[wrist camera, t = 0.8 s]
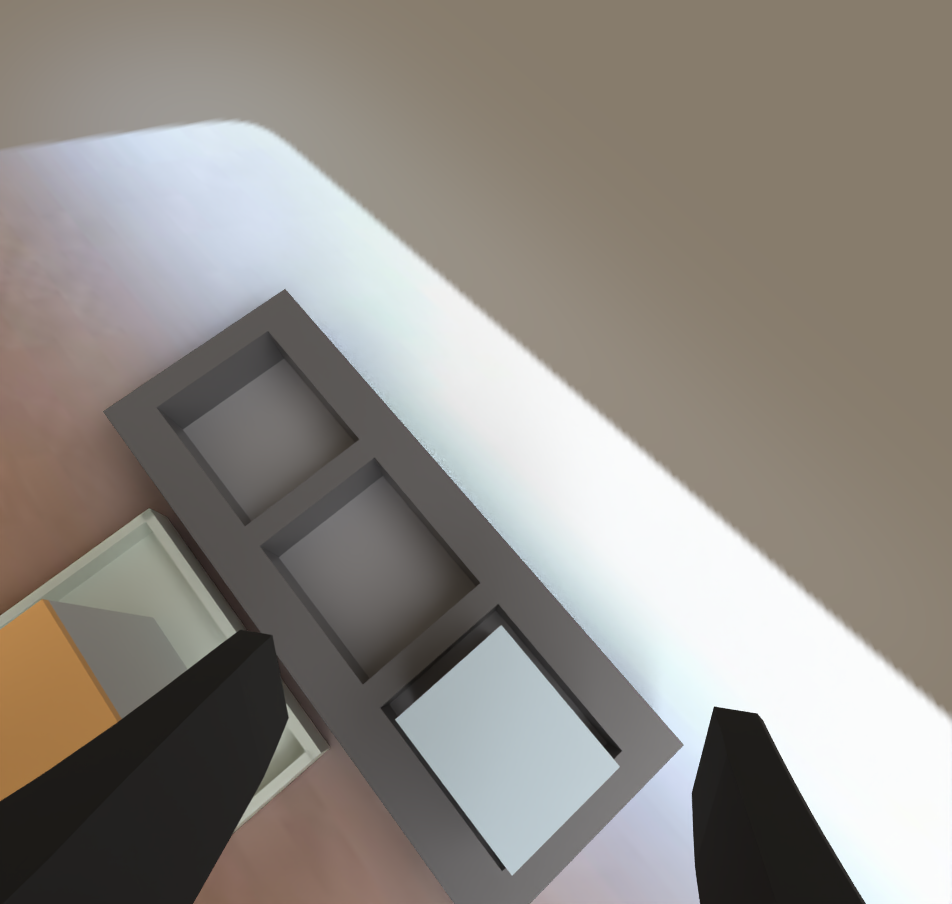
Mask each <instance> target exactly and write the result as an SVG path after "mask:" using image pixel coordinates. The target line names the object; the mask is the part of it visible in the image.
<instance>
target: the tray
mask: <svg viewBox="0 0 952 904" xmlns="http://www.w3.org/2000/svg"><path fill="white" fill-rule="evenodd" d="M41 599H44V600H50V601H56V602H62V603H68V604H74V605H80V606H86V607H92V608H98V609H104V610H110V611H116V612H122V613H128V614H134V615H140V616H146V617H152V618H154V619H155V621H156V622H157V624H158V625H159V627H160V628H161V630H162V631H163V633H164V634H165V636H166V637H167V639H168V640H169V642H170V643H171V645H172V646H173V648H174V649H175V651H176V652H177V654H178V655H179V657H180V658H181V660H182V661H183V663H184V664H185V666H186V667H187V669H189V668H190V667H191V666H193V665H194V664H195V663H197V662H198V661H199V660H201V659H202V658H203V657H205V656H206V655H207V654H208V653H210V652H211V651H212V650H214V649H215V648H216V647H218V646H219V645H220V644H222V643H223V642H224V641H225V640H227V639H228V638H230V637H231V636H232V635H234V634H235V633H236V632H238V631H239V630H245V631H247V629H246V628H245V626H244V625H243V624H242V622H241V621H240V619H239V618H238V616H237V615H236V614H235V612H234V611H233V609H232V608H231V607H230V605H229V604H228V602H227V601H226V599H225V598H224V597H223V595H222V594H221V592H220V591H219V590H218V588H217V587H216V585H215V584H214V583H213V581H212V580H211V578H210V577H209V575H208V574H207V573H206V571H205V570H204V568H203V567H202V566H201V564H200V563H199V561H198V560H197V559H196V557H195V556H194V554H193V553H192V551H191V550H190V549H189V547H188V546H187V544H186V543H185V542H184V540H183V539H182V537H181V536H180V535H179V533H178V532H177V530H176V529H175V527H174V526H173V525H172V523H171V522H170V520H169V519H168V518H167V517H166V516H164V515H162V514H160V513H158V512H156V511H154V510H152V509H150V508H149V509H147V510H146V511H144V512H143V513H142V514H140V515H139V516H137V517H136V518H135V519H133V520H132V521H131V522H129V523H128V524H126V525H125V526H124V527H122V528H121V529H119V530H118V531H117V532H115V533H114V534H113V535H111V536H110V537H108V538H107V539H106V540H104V541H103V542H101V543H100V544H99V545H97V546H96V547H95V548H93V549H92V550H90V551H89V552H88V553H86V554H85V555H84V556H82V557H81V558H79V559H78V560H77V561H75V562H74V563H72V564H71V565H70V566H68V567H67V568H66V569H64V570H63V571H61V572H60V573H59V574H57V575H56V576H54V577H53V578H52V579H50V580H49V581H48V582H46V583H45V584H43V585H42V586H41V587H39V588H38V589H36V590H35V591H34V592H32V593H31V594H30V595H28V596H27V597H25V598H24V599H23V600H21V601H20V602H18V603H17V604H16V605H14V606H13V607H12V608H10V609H9V610H7V611H6V612H5V613H3V614H2V615H0V629H2V628H3V627H4V626H6V625H7V624H8V623H10V622H11V621H13V620H14V619H15V618H17V617H18V616H19V615H21V614H22V613H24V612H25V611H26V610H28V609H29V608H30V607H32V606H33V605H35V604H36V603H37V602H39V601H40V600H41ZM281 681H282V686H283V691H284V696H285V701H286V706H287V711H288V716H289V719H288V721H287V724H286V726H285V729H284V731H283V733H282V736H281V738H280V741H279V743H278V746H277V748H276V751H275V753H274V755H273V758H272V760H271V762H270V764H269V767H268V769H267V771H266V774H265V776H264V778H263V780H262V782H261V784H260V785H259V787H258V789H257V791H256V793H255V795H254V796H253V798H252V800H251V802H250V803H249V805H248V807H247V809H246V811H245V812H244V814H243V816H242V818H241V820H240V821H239V823H238V825H237V827H236V829H235V830H234V832H235V831H237V830H238V829H239V828H240V827H241V826H242V825H243V824H244V823H246V822H247V821H248V820H249V819H250V818H251V817H252V816H254V815H255V814H256V813H257V812H258V811H259V810H260V809H262V808H263V807H264V806H265V805H266V804H267V803H268V802H270V801H271V800H272V799H273V798H274V797H275V796H276V795H277V794H279V793H280V792H281V791H282V790H283V789H284V788H285V787H287V786H288V785H289V784H290V783H291V782H292V781H293V780H295V779H296V778H297V777H298V776H299V775H300V774H301V773H303V772H304V771H305V770H306V769H307V768H308V767H309V766H310V765H312V764H313V763H314V762H315V761H316V760H317V759H318V758H320V757H321V756H322V755H323V754H324V753H325V752H326V751H328V750H329V749H330V746H329V745H328V744H327V742H326V741H325V739H324V738H323V736H322V735H321V734H320V732H319V731H318V729H317V728H316V727H315V725H314V724H313V722H312V721H311V720H310V718H309V717H308V715H307V714H306V712H305V711H304V710H303V708H302V707H301V705H300V704H299V703H298V701H297V700H296V698H295V697H294V696H293V694H292V693H291V691H290V690H289V688H288V687H287V686H286V684H285V683H284V681H283V680H282V679H281ZM234 832H233V833H234Z"/></svg>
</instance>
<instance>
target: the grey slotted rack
mask: <svg viewBox="0 0 952 904" xmlns="http://www.w3.org/2000/svg"><path fill="white" fill-rule="evenodd" d="M103 412H104V414H105V415H106V416H107V418H108V419H109V421H110V422H111V423H112V425H113V426H114V428H115V429H116V430H117V432H118V433H119V435H120V436H121V437H122V439H123V440H124V442H125V443H126V444H127V446H128V447H129V449H130V450H131V451H132V453H133V454H134V456H135V457H136V458H137V460H138V461H139V463H140V464H141V465H142V467H143V468H144V470H145V471H146V472H147V474H148V475H149V477H150V478H151V479H152V481H153V482H154V484H155V485H156V486H157V488H158V489H159V491H160V492H161V493H162V495H163V496H164V498H165V499H166V500H167V502H168V503H169V505H170V506H171V508H172V509H173V510H174V512H175V513H176V515H177V516H178V517H179V519H180V520H181V522H182V523H183V524H184V526H185V527H186V529H187V530H188V531H189V533H190V534H191V536H192V537H193V538H194V540H195V541H196V543H197V544H198V545H199V547H200V548H201V550H202V551H203V552H204V554H205V555H206V557H207V558H208V559H209V561H210V562H211V564H212V565H213V566H214V568H215V569H216V571H217V572H218V573H219V575H220V576H221V578H222V579H223V580H224V582H225V583H226V585H227V586H228V587H229V589H230V590H231V592H232V593H233V594H234V596H235V597H236V599H237V600H238V601H239V603H240V604H241V606H242V607H243V608H244V610H245V611H246V613H247V614H248V615H249V617H250V618H251V620H252V621H253V622H254V624H255V625H256V627H257V628H258V629H259V631H260V632H261V633H264V634H270V635H273V640H274V645H275V650H276V655H277V656H278V657H279V659H280V660H281V662H282V663H283V664H284V666H285V667H286V669H287V670H288V671H289V673H290V674H291V676H292V677H293V678H294V680H295V681H296V683H297V684H298V685H299V687H300V688H301V690H302V691H303V692H304V694H305V695H306V697H307V698H308V699H309V701H310V702H311V704H312V705H313V706H314V708H315V709H316V711H317V712H318V713H319V715H320V716H321V718H322V719H323V720H324V722H325V723H326V725H327V726H328V727H329V729H330V730H331V732H332V733H333V734H334V736H335V737H336V739H337V740H338V741H339V743H340V744H341V746H342V747H343V748H344V750H345V751H346V753H347V754H348V755H349V757H350V758H351V760H352V761H353V762H354V764H355V765H356V767H357V768H358V769H359V771H360V772H361V774H362V775H363V776H364V778H365V779H366V781H367V782H368V783H369V785H370V786H371V788H372V789H373V790H374V792H375V793H376V795H377V796H378V797H379V799H380V800H381V802H382V803H383V804H384V806H385V807H386V809H387V810H388V811H389V813H390V814H391V816H392V817H393V818H394V820H395V821H396V823H397V824H398V825H399V827H400V828H401V830H402V831H403V832H404V834H405V835H406V837H407V838H408V839H409V841H410V842H411V844H412V845H413V846H414V848H415V849H416V851H417V852H418V853H419V855H420V856H421V858H422V859H423V860H424V862H425V863H426V865H427V866H428V867H429V869H430V870H431V872H432V873H433V874H434V876H435V877H436V879H437V880H438V881H439V883H440V884H441V886H442V887H443V888H444V890H445V891H446V893H447V894H448V895H449V897H450V898H451V900H452V901H453V902H454V904H530V903H531V902H532V901H533V900H534V899H535V898H536V897H537V896H538V895H539V894H540V893H541V892H542V891H543V890H544V889H545V888H546V887H547V886H548V885H549V883H550V882H551V881H552V880H553V879H554V878H555V877H556V876H557V875H558V874H559V873H560V872H561V871H562V870H563V869H564V868H565V867H566V866H567V865H568V864H569V863H570V862H571V861H572V860H573V859H574V858H575V857H576V856H577V855H578V854H579V853H580V852H581V850H582V849H583V848H584V847H585V846H586V845H587V844H588V843H589V842H590V841H591V840H592V839H593V838H594V837H595V836H596V835H597V834H598V833H599V832H600V831H601V830H602V829H603V828H604V827H605V826H606V825H607V824H608V823H609V822H610V821H611V820H612V819H613V817H614V816H615V815H616V814H617V813H618V812H619V811H620V810H621V809H622V808H623V807H624V806H625V805H626V804H627V803H628V802H629V801H630V800H631V799H632V798H633V797H634V796H635V795H636V794H637V793H638V792H639V791H640V790H641V789H642V788H643V787H644V786H645V784H646V783H647V782H648V781H649V780H650V779H651V778H652V777H653V776H654V775H655V774H656V773H657V772H658V771H659V770H660V769H661V768H662V767H663V766H664V765H665V764H666V763H667V762H668V761H669V760H670V759H671V758H672V757H673V756H674V755H675V754H676V753H677V751H678V750H679V749H680V748H681V747H682V746H683V744H682V742H681V741H680V740H679V739H678V738H677V737H676V736H675V734H674V733H673V732H672V731H671V730H670V729H669V728H668V726H667V725H666V724H665V723H664V722H663V721H662V720H661V718H660V717H659V716H658V715H657V714H656V713H655V712H654V710H653V709H652V708H651V707H650V706H649V705H648V704H647V702H646V701H645V700H644V699H643V698H642V697H641V696H640V694H639V693H638V692H637V691H636V690H635V689H634V688H633V686H632V685H631V684H630V683H629V682H628V681H627V679H626V678H625V677H624V676H623V675H622V674H621V673H620V671H619V670H618V669H617V668H616V667H615V666H614V665H613V663H612V662H611V661H610V660H609V659H608V658H607V657H606V655H605V654H604V653H603V652H602V651H601V650H600V649H599V647H598V646H597V645H596V644H595V643H594V642H593V641H592V639H591V638H590V637H589V636H588V635H587V634H586V633H585V631H584V630H583V629H582V628H581V627H580V626H579V625H578V623H577V622H576V621H575V620H574V619H573V618H572V617H571V615H570V614H569V613H568V612H567V611H566V610H565V609H564V607H563V606H562V605H561V604H560V603H559V602H558V601H557V599H556V598H555V597H554V596H553V595H552V594H551V593H550V591H549V590H548V589H547V588H546V587H545V586H544V585H543V583H542V582H541V581H540V580H539V579H538V578H537V577H536V575H535V574H534V573H533V572H532V571H531V570H530V569H529V567H528V566H527V565H526V564H525V563H524V562H523V561H522V559H521V558H520V557H519V556H518V555H517V554H516V553H515V551H514V550H513V549H512V548H511V547H510V546H509V545H508V543H507V542H506V541H505V540H504V539H503V538H502V537H501V535H500V534H499V533H498V532H497V531H496V530H495V529H494V527H493V526H492V525H491V524H490V523H489V522H488V521H487V519H486V518H485V517H484V516H483V515H482V514H481V513H480V511H479V510H478V509H477V508H476V507H475V506H474V505H473V503H472V502H471V501H470V500H469V499H468V498H467V497H466V495H465V494H464V493H463V492H462V491H461V490H460V489H459V487H458V486H457V485H456V484H455V483H454V482H453V481H452V479H451V478H450V477H449V476H448V475H447V474H446V473H445V471H444V470H443V469H442V468H441V467H440V466H439V465H438V463H437V462H436V461H435V460H434V459H433V458H432V457H431V455H430V454H429V453H428V452H427V451H426V450H425V449H424V447H423V446H422V445H421V444H420V443H419V442H418V441H417V439H416V438H415V437H414V436H413V435H412V434H411V433H410V431H409V430H408V429H407V428H406V427H405V426H404V425H403V423H402V422H401V421H400V420H399V419H398V418H397V417H396V415H395V414H394V413H393V412H392V411H391V410H390V409H389V407H388V406H387V405H386V404H385V403H384V402H383V401H382V399H381V398H380V397H379V396H378V395H377V394H376V392H375V391H374V390H373V389H372V388H371V387H370V386H369V384H368V383H367V382H366V381H365V380H364V379H363V378H362V376H361V375H360V374H359V373H358V372H357V371H356V370H355V368H354V367H353V366H352V365H351V364H350V363H349V362H348V360H347V359H346V358H345V357H344V356H343V355H342V354H341V352H340V351H339V350H338V349H337V348H336V347H335V346H334V344H333V343H332V342H331V341H330V340H329V339H328V338H327V336H326V335H325V334H324V333H323V332H322V331H321V330H320V328H319V327H318V326H317V325H316V324H315V323H314V322H313V320H312V319H311V318H310V317H309V316H308V315H307V314H306V312H305V311H304V310H303V309H302V308H301V307H300V306H299V304H298V303H297V302H296V301H295V300H294V299H293V298H292V296H291V295H290V294H289V293H288V292H287V291H286V290H285V289H284V290H283V291H281V292H280V293H278V294H277V295H275V296H274V297H272V298H271V299H270V300H268V301H267V302H265V303H264V304H262V305H261V306H259V307H258V308H256V309H255V310H253V311H252V312H250V313H249V314H247V315H246V316H244V317H243V318H241V319H240V320H238V321H237V322H235V323H234V324H232V325H231V326H229V327H228V328H226V329H225V330H223V331H222V332H220V333H219V334H217V335H216V336H215V337H213V338H212V339H210V340H209V341H207V342H206V343H204V344H203V345H201V346H200V347H198V348H197V349H195V350H194V351H192V352H191V353H189V354H188V355H186V356H185V357H183V358H182V359H180V360H179V361H177V362H176V363H174V364H173V365H171V366H170V367H168V368H167V369H165V370H164V371H163V372H161V373H160V374H158V375H157V376H155V377H154V378H152V379H151V380H149V381H148V382H146V383H145V384H143V385H142V386H140V387H139V388H137V389H136V390H134V391H133V392H131V393H130V394H128V395H127V396H125V397H124V398H122V399H121V400H119V401H118V402H116V403H115V404H113V405H112V406H111V407H109V408H108V409H106V410H105V411H103ZM501 625H502V626H503V627H504V629H505V630H506V631H507V632H508V633H509V635H510V636H511V637H512V638H513V639H514V641H515V642H516V643H517V644H518V645H519V647H520V648H521V649H522V650H523V651H524V653H525V654H526V655H527V656H528V657H529V659H530V660H531V661H532V662H533V663H534V665H535V666H536V667H537V668H538V669H539V671H540V672H541V673H542V674H543V675H544V677H545V678H546V679H547V680H548V681H549V683H550V684H551V685H552V686H553V687H554V688H555V690H556V691H557V692H558V693H559V694H560V696H561V697H562V698H563V699H564V700H565V702H566V703H567V704H568V705H569V706H570V708H571V709H572V710H573V711H574V712H575V714H576V715H577V716H578V717H579V718H580V720H581V721H582V722H583V723H584V724H585V726H586V727H587V728H588V729H589V730H590V732H591V733H592V734H593V735H594V736H595V738H596V739H597V740H598V741H599V742H600V743H601V745H602V746H603V747H604V748H605V749H606V751H607V752H608V753H609V754H610V755H611V757H612V758H613V759H614V760H615V761H616V763H617V764H618V765H619V766H620V767H619V768H618V769H617V770H616V771H615V772H614V773H613V774H612V775H611V776H610V777H609V779H608V780H607V781H606V782H605V783H604V784H603V785H602V786H601V787H600V788H599V789H598V790H597V791H596V792H595V793H594V794H593V795H592V796H591V797H590V798H589V799H588V800H587V801H586V802H585V803H584V804H583V805H582V806H581V807H580V808H579V809H578V810H577V811H576V812H575V813H574V814H573V815H572V816H571V817H570V818H569V819H568V820H567V821H566V822H565V823H564V824H563V825H562V826H561V827H560V828H559V829H558V830H557V831H556V832H555V833H554V834H553V835H552V836H551V837H550V838H549V839H548V840H547V841H546V842H545V843H544V844H543V845H542V846H541V847H540V848H539V849H538V850H537V851H536V852H535V853H534V854H533V855H532V856H531V857H530V858H529V859H528V860H527V861H526V862H525V863H524V864H523V865H522V866H521V867H520V868H519V869H518V870H517V871H516V872H515V873H514V874H513V875H511V874H510V873H509V871H508V870H507V868H506V867H505V866H504V864H503V863H502V862H501V860H500V859H499V858H498V856H497V855H496V854H495V852H494V851H493V850H492V848H491V847H490V846H489V844H488V843H487V842H486V840H485V839H484V838H483V836H482V835H481V834H480V832H479V831H478V830H477V828H476V827H475V826H474V824H473V823H472V822H471V820H470V819H469V818H468V816H467V815H466V814H465V812H464V811H463V810H462V808H461V807H460V806H459V804H458V803H457V802H456V800H455V799H454V798H453V796H452V795H451V794H450V792H449V791H448V790H447V788H446V787H445V786H444V784H443V783H442V782H441V780H440V779H439V778H438V776H437V775H436V774H435V772H434V771H433V770H432V768H431V767H430V766H429V764H428V763H427V762H426V760H425V759H424V758H423V756H422V755H421V754H420V752H419V751H418V750H417V748H416V747H415V746H414V744H413V743H412V742H411V740H410V739H409V738H408V736H407V735H406V734H405V732H404V731H403V729H402V728H401V727H400V725H399V724H398V723H397V721H396V720H395V719H396V718H397V717H399V716H400V715H401V714H402V713H403V712H404V711H405V710H406V709H408V708H409V707H410V706H411V705H412V704H413V703H414V702H415V701H417V700H418V699H419V698H420V697H421V696H422V695H423V694H424V693H426V692H427V691H428V690H429V689H430V688H431V687H432V686H433V685H434V684H436V683H437V682H438V681H439V680H440V679H441V678H442V677H443V676H445V675H446V674H447V673H448V672H449V671H450V670H451V669H452V668H454V667H455V666H456V665H457V664H458V663H459V662H460V661H461V660H463V659H464V658H465V657H466V656H467V655H468V654H469V653H470V652H472V651H473V650H474V649H475V648H476V647H477V646H478V645H479V644H480V643H482V642H483V641H484V640H485V639H486V638H487V637H488V636H489V635H491V634H492V633H493V632H494V631H495V630H496V629H497V628H498V627H500V626H501Z"/></svg>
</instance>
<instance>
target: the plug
mask: <svg viewBox="0 0 952 904" xmlns="http://www.w3.org/2000/svg"><path fill="white" fill-rule="evenodd" d="M186 670H188V669H187V667H186V666H185V664H184V663H183V661H182V660H181V658H180V657H179V655H178V654H177V652H176V651H175V649H174V648H173V646H172V645H171V643H170V642H169V640H168V639H167V637H166V636H165V634H164V633H163V631H162V630H161V628H160V627H159V625H158V624H157V622H156V621H155V619H154V618H152V617H146V616H140V615H134V614H128V613H122V612H116V611H110V610H104V609H98V608H92V607H86V606H80V605H74V604H68V603H62V602H56V601H50V600H44V599H41V600H40V601H39V602H37V603H36V604H35V605H33V606H32V607H30V608H29V609H28V610H26V611H25V612H24V613H22V614H21V615H19V616H18V617H17V618H15V619H14V620H13V621H11V622H10V623H8V624H7V625H6V626H4V627H3V628H2V629H0V801H1V800H3V799H4V798H6V797H7V796H9V795H11V794H12V793H14V792H15V791H17V790H19V789H20V788H22V787H23V786H25V785H26V784H28V783H30V782H31V781H33V780H34V779H36V778H37V777H39V776H40V775H42V774H43V773H45V772H46V771H48V770H49V769H51V768H52V767H54V766H55V765H57V764H58V763H59V762H61V761H62V760H64V759H65V758H67V757H68V756H70V755H71V754H72V753H74V752H75V751H77V750H78V749H80V748H81V747H83V746H84V745H85V744H87V743H88V742H90V741H91V740H93V739H94V738H96V737H97V736H98V735H100V734H101V733H103V732H104V731H106V730H107V729H108V728H110V727H111V726H113V725H114V724H116V723H117V722H118V721H120V720H121V719H122V718H124V717H125V716H126V715H128V714H129V713H130V712H132V711H133V710H135V709H136V708H137V707H139V706H140V705H141V704H143V703H144V702H145V701H147V700H148V699H149V698H151V697H152V696H153V695H155V694H156V693H157V692H159V691H160V690H161V689H163V688H164V687H165V686H167V685H168V684H169V683H171V682H172V681H173V680H174V679H176V678H177V677H178V676H180V675H181V674H182V673H184V672H185V671H186Z"/></svg>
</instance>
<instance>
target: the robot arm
mask: <svg viewBox="0 0 952 904" xmlns="http://www.w3.org/2000/svg"><path fill="white" fill-rule="evenodd" d="M288 719H289V716H288V711H287V706H286V701H285V696H284V691H283V686H282V681H281V675H280V670H279V665H278V660H277V655H276V650H275V645H274V640H273V635H270V634H264V633H257V632H251V631H245V630H239V631H238V632H236V633H235V634H234V635H232V636H231V637H230V638H228V639H227V640H225V641H224V642H223V643H222V644H220V645H219V646H218V647H216V648H215V649H214V650H212V651H211V652H210V653H208V654H207V655H206V656H205V657H203V658H202V659H201V660H199V661H198V662H197V663H195V664H194V665H193V666H191V667H190V668H189V669H188V670H186V671H185V672H184V673H182V674H181V675H180V676H178V677H177V678H176V679H174V680H173V681H172V682H171V683H169V684H168V685H167V686H165V687H164V688H163V689H161V690H160V691H159V692H157V693H156V694H155V695H153V696H152V697H151V698H149V699H148V700H147V701H145V702H144V703H143V704H141V705H140V706H139V707H137V708H136V709H135V710H133V711H132V712H130V713H129V714H128V715H126V716H125V717H124V718H122V719H121V720H120V721H118V722H117V723H116V724H114V725H113V726H111V727H110V728H108V729H107V730H106V731H104V732H103V733H101V734H100V735H98V736H97V737H96V738H94V739H93V740H91V741H90V742H88V743H87V744H85V745H84V746H83V747H81V748H80V749H78V750H77V751H75V752H74V753H72V754H71V755H70V756H68V757H67V758H65V759H64V760H62V761H61V762H59V763H58V764H57V765H55V766H54V767H52V768H51V769H49V770H48V771H46V772H45V773H43V774H42V775H40V776H39V777H37V778H36V779H34V780H33V781H31V782H30V783H28V784H26V785H25V786H23V787H22V788H20V789H19V790H17V791H15V792H14V793H12V794H11V795H9V796H7V797H6V798H4V799H3V800H1V801H0V904H193V903H194V901H195V899H196V897H197V896H198V894H199V892H200V890H201V889H202V887H203V885H204V883H205V882H206V880H207V878H208V876H209V874H210V873H211V871H212V869H213V867H214V866H215V864H216V862H217V860H218V859H219V857H220V855H221V853H222V852H223V850H224V848H225V846H226V844H227V843H228V841H229V839H230V837H231V836H232V834H233V832H234V830H235V829H236V827H237V825H238V823H239V821H240V820H241V818H242V816H243V814H244V812H245V811H246V809H247V807H248V805H249V803H250V802H251V800H252V798H253V796H254V795H255V793H256V791H257V789H258V787H259V785H260V784H261V782H262V780H263V778H264V776H265V774H266V771H267V769H268V767H269V764H270V762H271V760H272V758H273V755H274V753H275V751H276V748H277V746H278V743H279V741H280V738H281V736H282V733H283V731H284V729H285V726H286V724H287V721H288ZM692 811H693V837H694V856H695V870H696V878H697V885H698V892H699V899H700V904H866V903H865V902H864V900H863V898H862V897H861V895H860V894H859V892H858V890H857V889H856V887H855V886H854V884H853V882H852V881H851V879H850V877H849V876H848V874H847V872H846V871H845V869H844V867H843V866H842V864H841V862H840V861H839V859H838V857H837V856H836V854H835V852H834V851H833V849H832V847H831V845H830V844H829V842H828V840H827V839H826V837H825V835H824V834H823V832H822V830H821V829H820V827H819V825H818V823H817V822H816V820H815V818H814V816H813V815H812V813H811V811H810V809H809V807H808V806H807V804H806V802H805V800H804V798H803V796H802V795H801V793H800V791H799V789H798V787H797V786H796V784H795V782H794V780H793V778H792V776H791V774H790V773H789V771H788V769H787V767H786V765H785V763H784V761H783V759H782V757H781V755H780V753H779V752H778V750H777V748H776V746H775V744H774V742H773V740H772V738H771V736H770V734H769V732H768V730H767V728H766V725H765V723H764V721H763V720H762V719H761V718H760V716H759V715H758V714H756V713H750V712H744V711H738V710H732V709H726V708H719V707H714V709H713V713H712V716H711V720H710V724H709V728H708V732H707V736H706V740H705V744H704V748H703V752H702V755H701V759H700V763H699V767H698V771H697V775H696V779H695V783H694V787H693V791H692Z"/></svg>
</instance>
